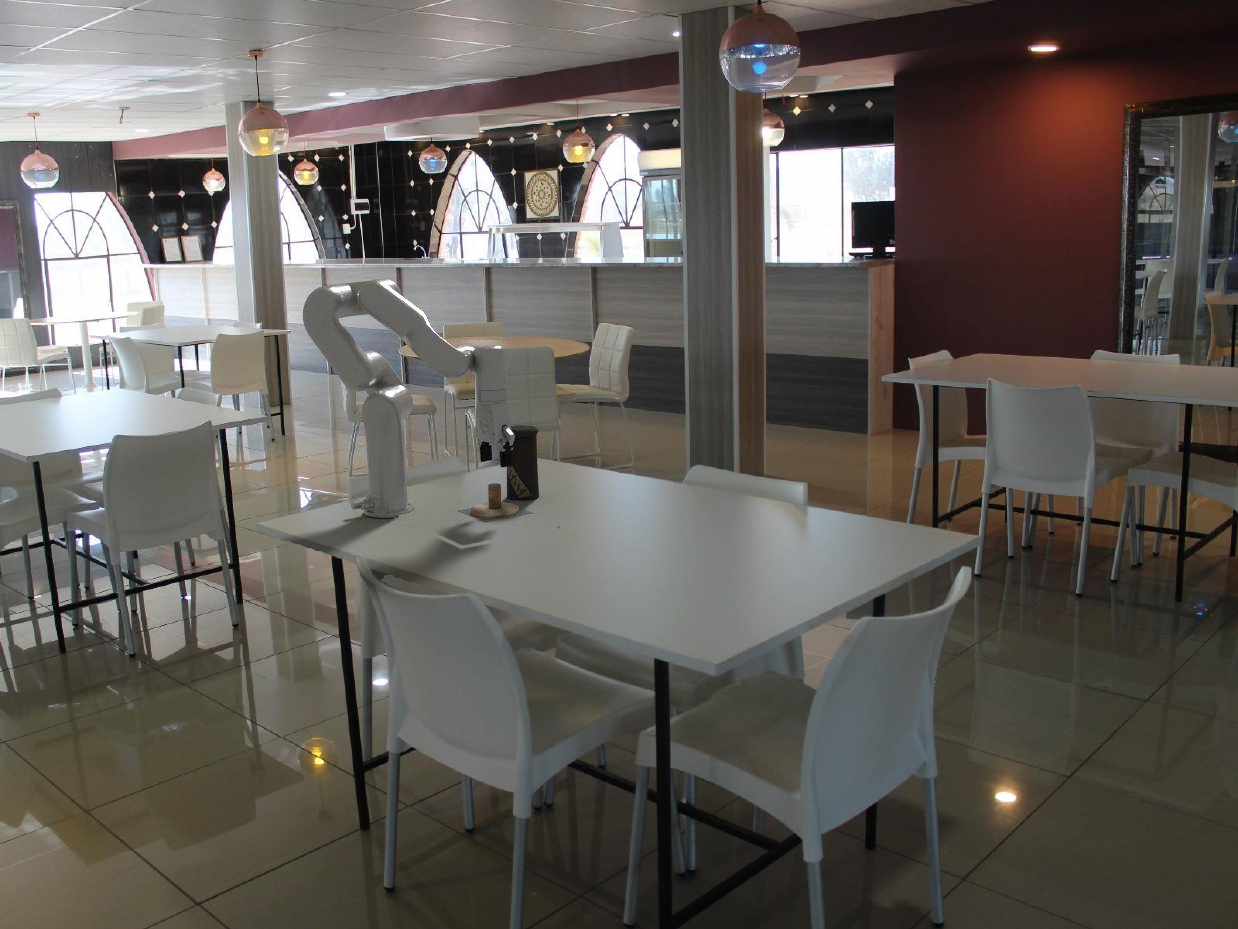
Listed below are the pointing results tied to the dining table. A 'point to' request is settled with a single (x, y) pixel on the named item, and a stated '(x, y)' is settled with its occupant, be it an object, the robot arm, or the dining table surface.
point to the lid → (494, 505)
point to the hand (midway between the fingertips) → (496, 463)
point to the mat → (468, 512)
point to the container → (523, 465)
